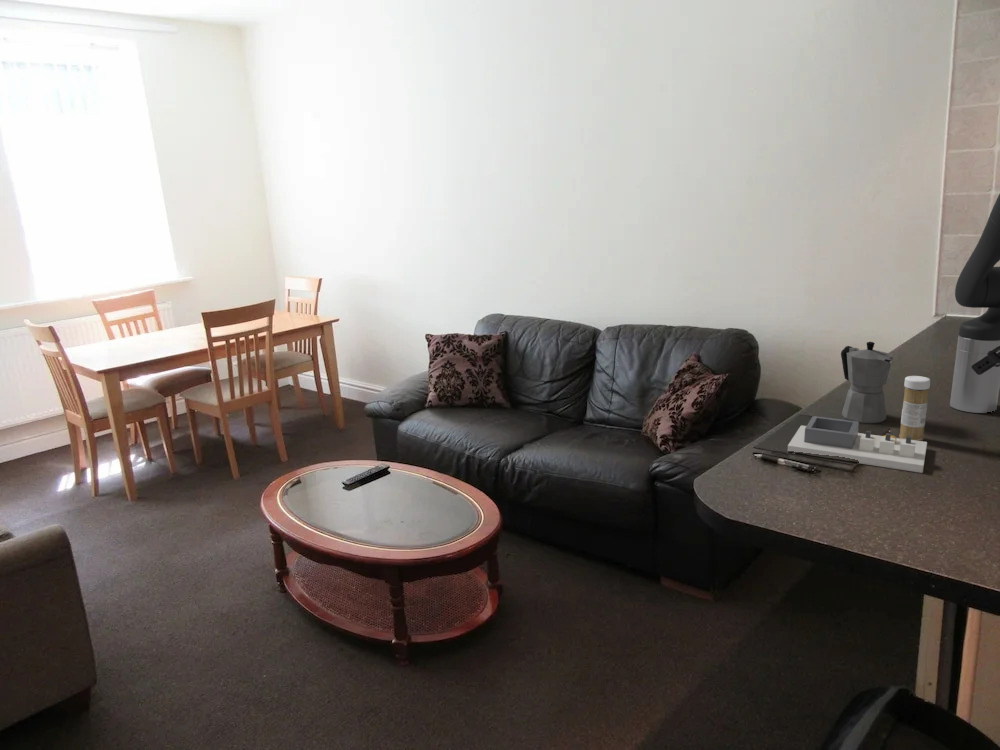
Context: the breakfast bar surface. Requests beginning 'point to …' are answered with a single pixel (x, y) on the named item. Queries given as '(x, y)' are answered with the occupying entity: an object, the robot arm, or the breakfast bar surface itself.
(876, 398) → the coffeepot
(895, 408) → the breakfast bar surface
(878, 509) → the breakfast bar surface
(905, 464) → the breaker panel
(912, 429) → the sprinkles bottle
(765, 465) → the breakfast bar surface
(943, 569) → the breakfast bar surface
